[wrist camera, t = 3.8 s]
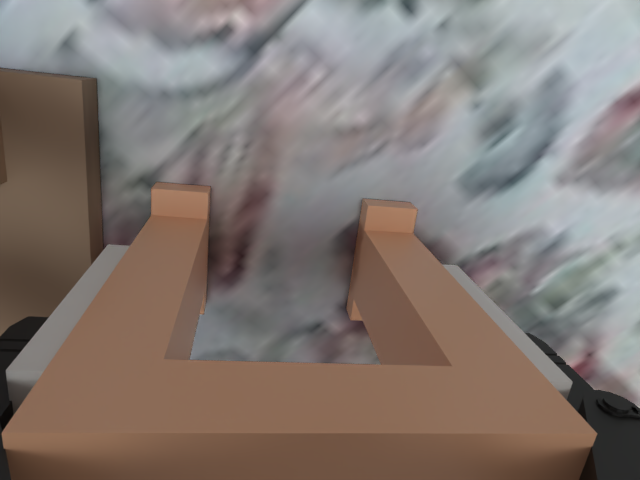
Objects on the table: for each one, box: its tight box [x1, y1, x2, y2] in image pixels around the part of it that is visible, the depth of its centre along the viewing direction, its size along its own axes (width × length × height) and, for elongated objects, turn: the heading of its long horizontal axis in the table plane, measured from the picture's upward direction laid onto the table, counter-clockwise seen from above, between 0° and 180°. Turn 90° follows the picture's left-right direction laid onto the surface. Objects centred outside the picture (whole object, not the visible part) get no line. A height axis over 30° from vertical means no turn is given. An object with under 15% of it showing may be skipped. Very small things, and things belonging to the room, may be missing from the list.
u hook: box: [2, 182, 597, 480], centre depth 14 cm, size 5×10×12 cm, turn 84°
